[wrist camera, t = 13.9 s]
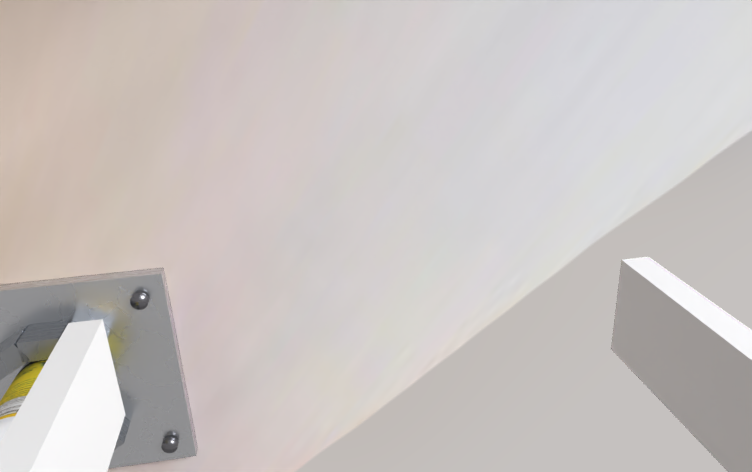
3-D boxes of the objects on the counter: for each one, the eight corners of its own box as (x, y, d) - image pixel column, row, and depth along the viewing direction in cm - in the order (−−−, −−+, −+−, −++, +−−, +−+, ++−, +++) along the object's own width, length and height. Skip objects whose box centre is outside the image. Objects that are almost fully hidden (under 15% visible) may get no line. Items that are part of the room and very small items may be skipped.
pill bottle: (126, 397, 47) (88, 511, 37) (51, 432, 47) (-7, 556, 37) (77, 333, 44) (22, 437, 34) (-2, 370, 44) (-80, 485, 34)
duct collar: (-82, 293, 42) (-110, 318, 39) (163, 267, 44) (155, 289, 41) (-15, 477, 48) (-35, 512, 45) (197, 447, 51) (193, 478, 47)
